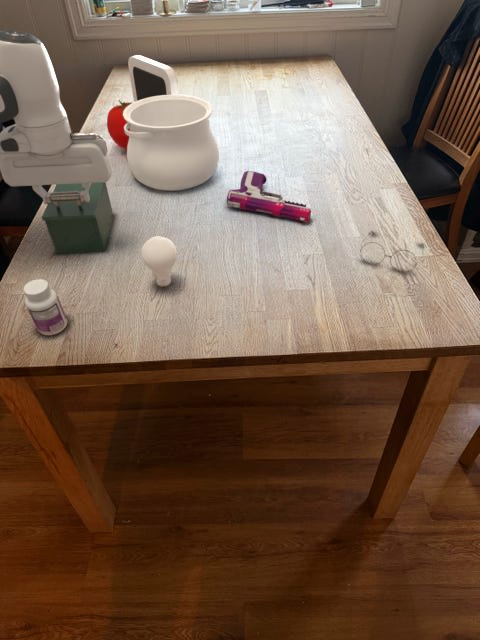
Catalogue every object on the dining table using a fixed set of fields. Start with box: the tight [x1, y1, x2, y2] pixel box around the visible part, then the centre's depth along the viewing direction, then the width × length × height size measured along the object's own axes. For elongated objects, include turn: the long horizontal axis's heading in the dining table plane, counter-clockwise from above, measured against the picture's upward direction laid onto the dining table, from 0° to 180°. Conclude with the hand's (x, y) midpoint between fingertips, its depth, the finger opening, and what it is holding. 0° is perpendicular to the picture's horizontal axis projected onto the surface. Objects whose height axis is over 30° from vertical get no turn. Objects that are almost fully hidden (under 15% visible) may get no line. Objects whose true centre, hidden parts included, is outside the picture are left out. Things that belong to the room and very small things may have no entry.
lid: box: [41, 182, 105, 222], centre depth 96 cm, size 15×11×5 cm
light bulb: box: [141, 235, 178, 288], centre depth 87 cm, size 7×7×11 cm
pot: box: [123, 94, 220, 192], centre depth 118 cm, size 26×24×17 cm
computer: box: [127, 54, 180, 103], centre depth 132 cm, size 22×22×3 cm
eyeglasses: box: [359, 230, 425, 273], centre depth 95 cm, size 11×13×5 cm
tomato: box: [106, 99, 134, 151], centre depth 131 cm, size 12×12×13 cm
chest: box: [44, 182, 114, 254], centre depth 101 cm, size 15×11×9 cm
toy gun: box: [226, 170, 312, 223], centre depth 111 cm, size 4×22×15 cm
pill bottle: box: [23, 278, 68, 336], centre depth 79 cm, size 5×5×10 cm
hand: (67, 201), depth 92 cm, fingers open, 6 cm apart
